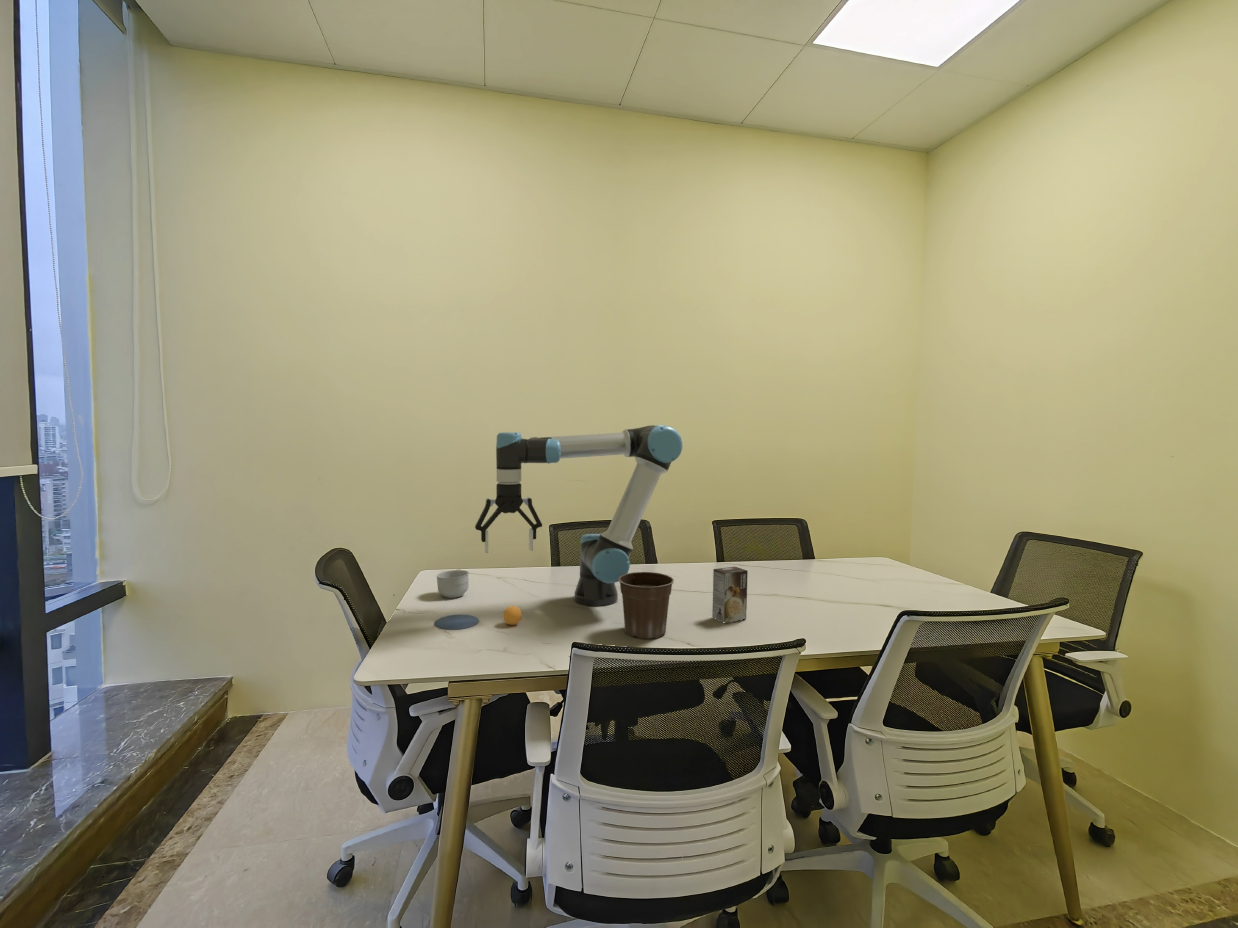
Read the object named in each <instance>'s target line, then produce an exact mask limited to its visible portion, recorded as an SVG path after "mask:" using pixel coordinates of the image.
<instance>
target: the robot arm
mask: <svg viewBox="0 0 1238 928" xmlns="http://www.w3.org/2000/svg"><path fill="white" fill-rule="evenodd" d="M683 445H684V444H683V440H682V436H681V435H680V433H679V431H677V430H676V429H675V428H673V427H671V426H667V425H664V424H662V425H661V424H660V425H646V426H642V427H637V428H635V427H634V428H628V429H626V428H625V429H623V431H621V432H611V433H610V432H609V433H608V432H607V433H594V434H590V433H589V434H578V435H560V436H545V437H537V436H534V437H530V438H523V436H522V433H521V432H509V431H508V432H507V431H506V432H503V431H502V432H498V433H497V435H496V445H495V457H496V458H495V459H496V463H495V464H496V482H497V484H496V485H495V486H496V490H495V491H496V498H495V499H490V498H486V499H485V505H484V508H483V510H482V512H481V513H480V515H479V517H478V519H477V522H476V523H475V526H474V528H475V530H476V531H480V537H481V538H480V539H481V543H484V553H485V554H489V530H488V529H489V528H490V526H492V524H493V523H494V521H495V520H496V519H497V518H498V516H500V515H501V514H502V513H503V514H509V513H510V514H515V513H516V512H518V514H519V515H520V516H521V517H522V518H523V519H524V520H525V521H526V523H527V524H528V525H529V526H530V527H531V528H529V529H528V548H529V549H528V550H530V552H531V551H534V540H537V529H538V528H542V527H543V524H542V522H541V520H540V518H539V516H538V513H537V512H536V510H535V507H534V506H533V499H532V497H529V496H528V497H526V498H522V484H521V481H522V464H557V463H559V461H560V460H561V459H574V458H575V459H576V458H577V459H578V458H589V457H591V458H592V457H604V456H606V457H607V456H620V455H621V456H622V455H623V456H624V457H625V458H632V457H633V458H635V462H636V466H635V467H634V469H633V472H632V474H631V477H630V479H629V481H628V483H627V486H626V487H625V491H624V492H623V494H622V497H621V499H620V501H619V503H618V506H617V507H616V510H615V512H614V515H613V516H612V519H611V521H610V524H609V526H608V528H607V530H606V531H603V532H601V533H587V534H582V536H581V537H580V542H579V545H580V546H579V548H580V549H579V554H580V555H579V578H578V581H577V585H576V587H575V590H574V597H573V598H574V601H575V602H577V603H578V604H581V605H585V606H593V607H594V606H596V607H597V606H609V605H612V604H615V603H616V602H617V601H618V597H619V596H618V590H617V586H616V584H615V583H618V582H619V580H618V578H619V577H620V576H622V575H624V574H628V573H629V571H630V567H631V566H630V564H631V563H630V556H631V554H632V552H633V550H634V547H633V544H632V541H633V538H634V536H635V533H636V532H637V529H638V527H639V525H640V523H641V520H642V518H643V515H644V513H645V511H646V509H647V507H648V504H649V503H650V500H651V497H652V496H653V492H654V491H655V489H656V486H657V484H658V483H659V482H658V481H659V480H660V477H661V476H662V475H663V474H665V473H668V470H669V468H670V467H671V464H672V462H674V461H676V460H677V459H678V458H679V457H680V456H681V453H682V451H683ZM523 503H524V505H525V506H527V507H528V509H529V511H530V513H531V515H532V517H533V519H534V521H535V523H534V522H533V521H532V520H531V518H529V517H528V515H527V514H526V513H525V512H524V511H523V510H522V509H521V508H520V507H521V506H522V505H523ZM494 504H495V505H496V509H495V510H494V512H493V513H492V515H490V517H489V518H488V519H487V520H486V522H484V521H485V519H486V517H487V515H488V512H489V511H490V508H491V507H493V505H494ZM483 523H484V524H483Z"/></svg>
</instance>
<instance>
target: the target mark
mask: <svg viewBox="0 0 1238 928" xmlns="http://www.w3.org/2000/svg"><path fill="white" fill-rule="evenodd" d="M479 622H480V620H479V618H478V616H475V615H471V614H463V613H462V614H451V615H446V616H442V617H439V618H438V619H436V620H435V621H434V626H435V627H436V628H438V629H442V630H449V631H450V630H453V631H454V630H455V631H456V630H463V629H465V630H466V629H469V628H472V627H474V626H475V627H476V625H478V624H479Z"/></svg>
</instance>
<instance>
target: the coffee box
mask: <svg viewBox="0 0 1238 928" xmlns="http://www.w3.org/2000/svg"><path fill="white" fill-rule="evenodd" d="M712 571H713V572H712V574H713V577H712V578H713V581H712V611H711V613H712V615H711V617H713V618H712V619H714V618H716V619H718V620H719V621H718V620H717V621H718V622H720V621H721V622H720V623H722V622H729V623H733V622H732V621H735V622H739V621H738V620H740V621H744V620H743V619H746V620H747V610H748V609H747V607H748V604H747V602H748V601H747V600H748V573H749V572H748V570H747V569H743V568H741V567H737V566H729V567H727V566H726V567H723V568H722V567H720V568H714V569H713V570H712ZM716 619H715V620H716Z"/></svg>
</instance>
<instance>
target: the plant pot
mask: <svg viewBox="0 0 1238 928" xmlns="http://www.w3.org/2000/svg"><path fill="white" fill-rule="evenodd" d="M618 580H619V581H618V582H619V587H620V594H621V595H622V596H621V598H622V608H623V620H624V622H623V623H624V632H625V634H626V635H627V636H629V637H632V638H634V637H637V639H642V640H644V639H645V640H652V639H658V638H660V637H662V636H663V635H665V634H666V631H667V622H668V614H669V613H668V612H669V604H670V596H671V594H672V586H673V584H674V582H675V580H674V578H673V577H672V576H669V575H668V574H665V573H661V572H660V573H659V572H654V571H652V572H651V571H640V572H639V571H637V572H636V571H635V572H628V573H627V574H624V575H622V576H620V577H619V578H618Z"/></svg>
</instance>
